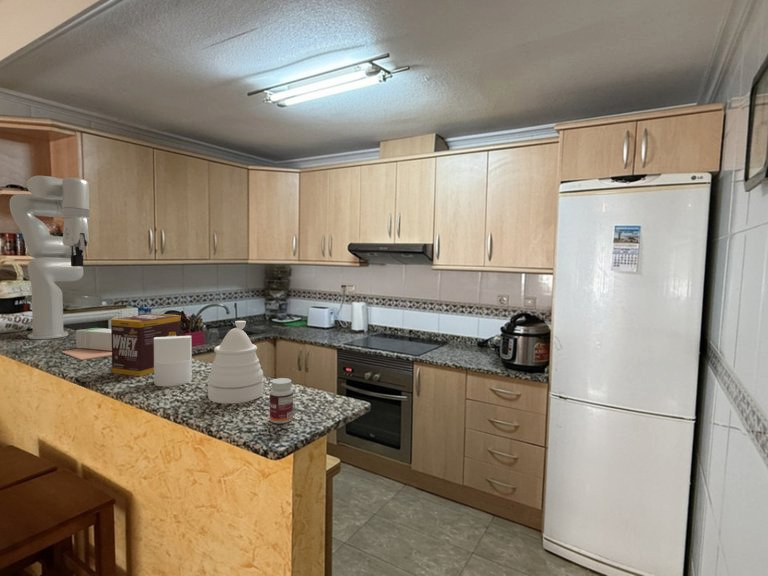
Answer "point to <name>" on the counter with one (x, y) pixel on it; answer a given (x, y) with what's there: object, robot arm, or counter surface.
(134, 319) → the supplement box
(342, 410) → the counter surface
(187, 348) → the cylinder with rectangular tab
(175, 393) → the counter surface
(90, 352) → the mat
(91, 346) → the skincare box
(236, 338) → the honey pot
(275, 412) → the pill bottle
